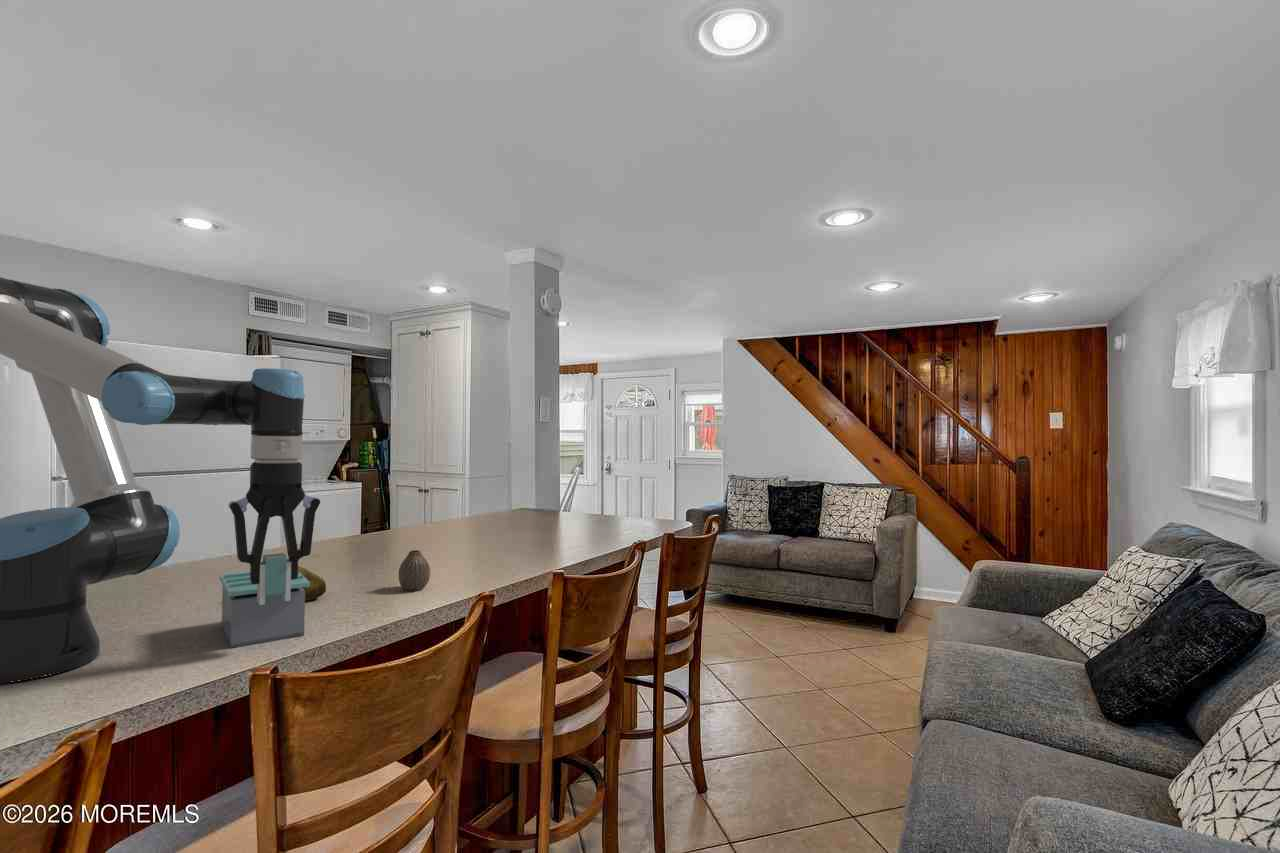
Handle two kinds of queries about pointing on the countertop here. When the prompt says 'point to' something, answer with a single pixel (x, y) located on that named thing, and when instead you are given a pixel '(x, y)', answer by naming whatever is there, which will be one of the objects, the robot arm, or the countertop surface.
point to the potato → (313, 584)
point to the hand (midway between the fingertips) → (273, 600)
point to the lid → (273, 578)
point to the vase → (414, 572)
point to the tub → (262, 617)
